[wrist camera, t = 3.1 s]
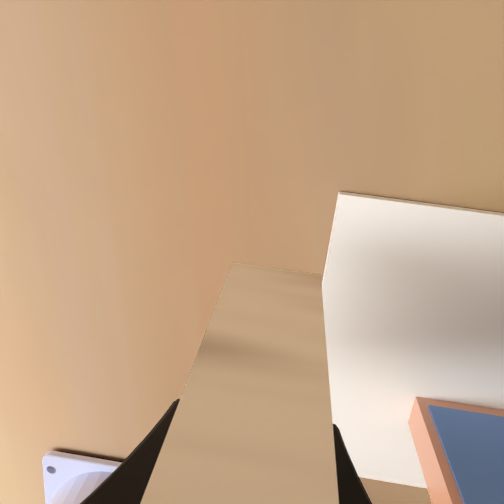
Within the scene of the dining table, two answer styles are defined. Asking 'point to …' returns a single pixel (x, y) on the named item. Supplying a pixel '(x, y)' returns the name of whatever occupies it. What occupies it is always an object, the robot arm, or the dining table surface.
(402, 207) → the mat
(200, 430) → the tall beige block
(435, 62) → the dining table surface
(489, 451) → the tile
